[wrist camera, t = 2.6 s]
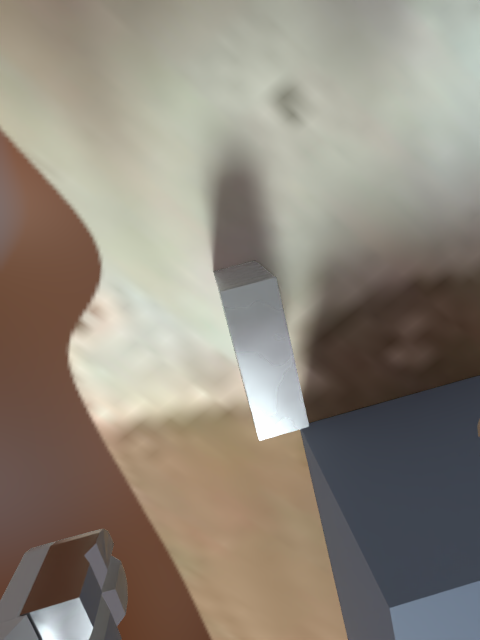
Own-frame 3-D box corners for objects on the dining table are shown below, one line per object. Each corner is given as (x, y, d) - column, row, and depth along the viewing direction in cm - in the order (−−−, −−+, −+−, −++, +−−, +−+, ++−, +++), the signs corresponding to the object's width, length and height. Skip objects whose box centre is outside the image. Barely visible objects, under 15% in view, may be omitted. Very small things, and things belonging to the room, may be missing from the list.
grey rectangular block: (213, 271, 18) (219, 292, 13) (254, 260, 18) (276, 277, 14) (243, 385, 20) (259, 440, 15) (281, 375, 20) (309, 426, 15)
